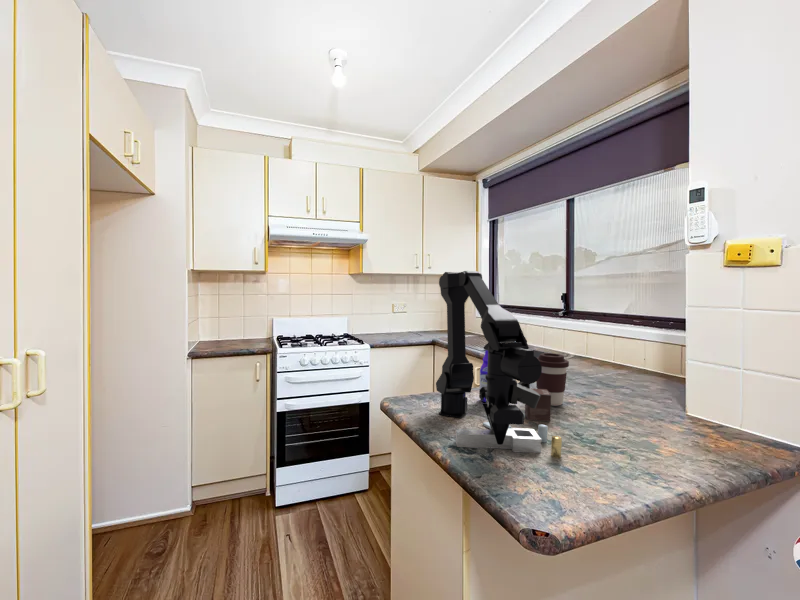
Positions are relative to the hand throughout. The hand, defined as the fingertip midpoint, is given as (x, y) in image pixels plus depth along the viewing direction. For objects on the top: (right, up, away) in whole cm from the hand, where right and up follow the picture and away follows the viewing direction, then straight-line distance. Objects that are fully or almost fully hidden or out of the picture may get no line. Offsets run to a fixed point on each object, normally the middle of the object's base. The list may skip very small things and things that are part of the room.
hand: (498, 441), depth 87 cm
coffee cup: (+25, 0, +33) cm, 41 cm away
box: (+16, -1, +19) cm, 25 cm away
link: (0, -1, 0) cm, 1 cm away
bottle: (+6, 0, +33) cm, 33 cm away
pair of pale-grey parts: (+6, -1, +9) cm, 10 cm away
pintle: (+11, -1, -5) cm, 12 cm away
